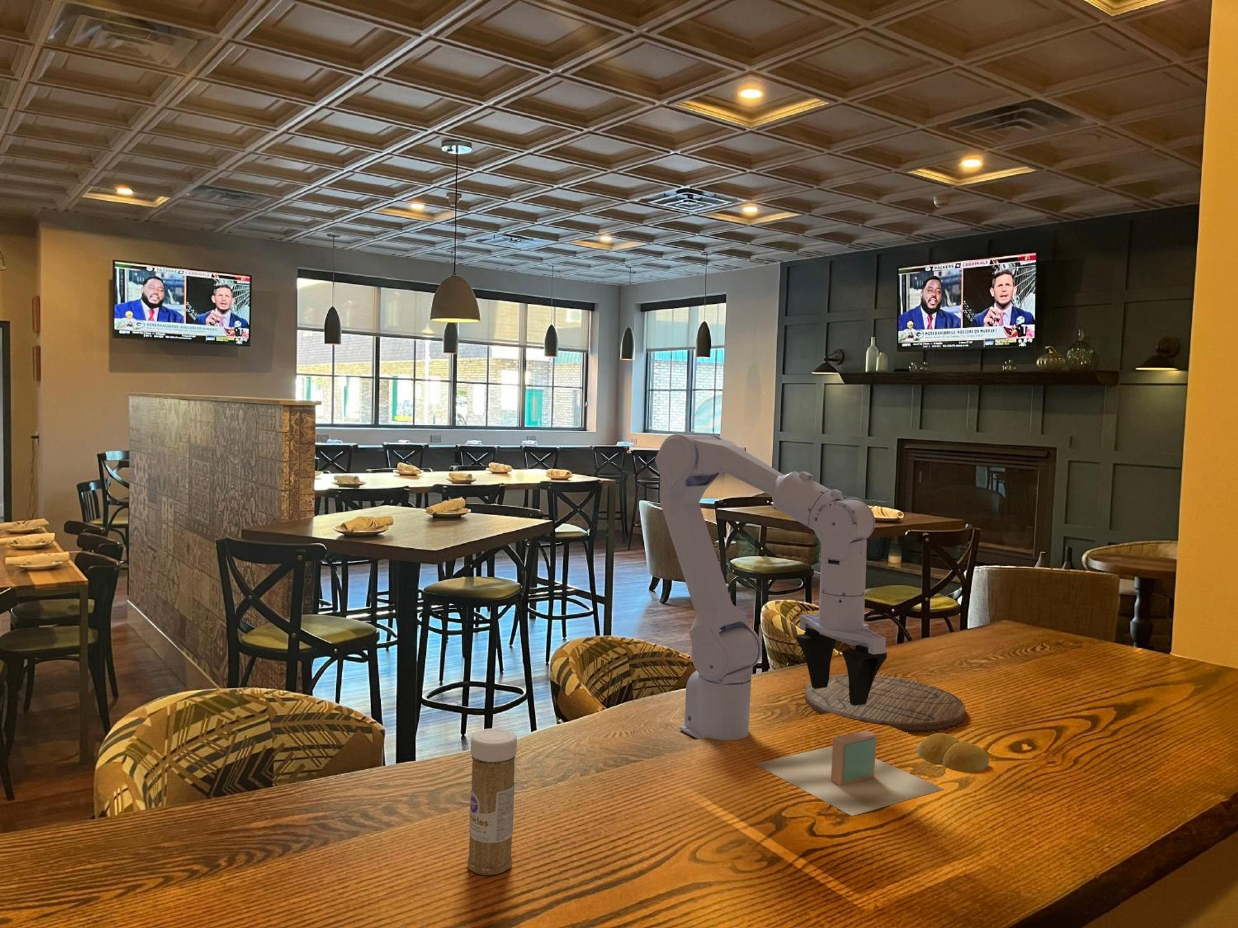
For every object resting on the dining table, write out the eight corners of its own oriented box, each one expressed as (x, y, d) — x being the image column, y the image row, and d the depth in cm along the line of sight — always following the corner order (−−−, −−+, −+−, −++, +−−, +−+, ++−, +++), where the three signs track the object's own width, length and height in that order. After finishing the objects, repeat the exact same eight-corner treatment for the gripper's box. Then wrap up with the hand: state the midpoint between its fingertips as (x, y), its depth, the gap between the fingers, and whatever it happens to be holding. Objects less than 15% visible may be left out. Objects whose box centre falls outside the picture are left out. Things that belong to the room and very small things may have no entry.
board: (754, 771, 117) (754, 763, 117) (842, 750, 125) (842, 743, 125) (851, 824, 102) (852, 815, 102) (943, 796, 111) (944, 789, 111)
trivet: (945, 747, 129) (946, 734, 129) (781, 712, 142) (782, 700, 142) (978, 703, 150) (978, 692, 150) (832, 676, 163) (833, 665, 163)
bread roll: (970, 785, 116) (971, 754, 115) (907, 762, 122) (909, 734, 122) (1000, 770, 121) (1002, 741, 121) (939, 749, 128) (941, 722, 127)
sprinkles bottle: (457, 865, 90) (461, 734, 89) (492, 849, 93) (495, 723, 93) (488, 882, 87) (492, 746, 86) (522, 865, 90) (526, 734, 90)
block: (830, 780, 112) (833, 737, 112) (864, 772, 115) (866, 730, 115) (841, 786, 111) (843, 742, 110) (875, 777, 114) (877, 734, 113)
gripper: (906, 600, 112) (902, 708, 112) (830, 581, 125) (826, 677, 125) (862, 604, 109) (858, 715, 109) (788, 584, 122) (785, 682, 122)
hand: (838, 695), depth 117 cm, fingers open, 7 cm apart
